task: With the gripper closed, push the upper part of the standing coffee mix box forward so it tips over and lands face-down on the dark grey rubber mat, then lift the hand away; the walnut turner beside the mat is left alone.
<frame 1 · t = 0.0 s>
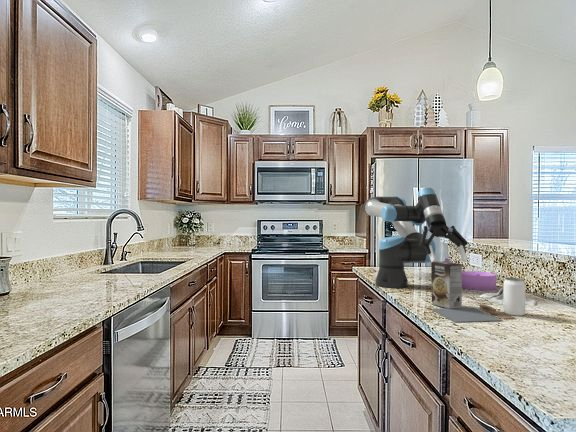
hand: (449, 260, 155), 15 cm above the worktop, tool tilted 35°, fingers open, 13 cm apart
mat: (464, 315, 129), on the worktop
coffee box: (446, 306, 141), on the worktop, touching mat
can: (514, 314, 131), on the worktop
container set: (466, 287, 179), on the worktop
cloth: (505, 301, 153), on the worktop
turner: (495, 313, 131), on the worktop
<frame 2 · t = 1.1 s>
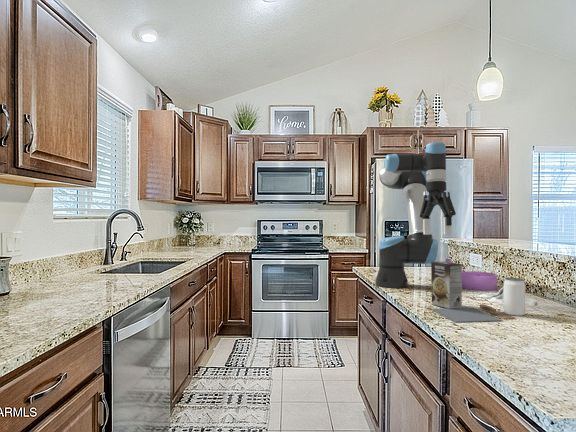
hand: (436, 234, 151), 26 cm above the worktop, tool pointing down, fingers open, 13 cm apart
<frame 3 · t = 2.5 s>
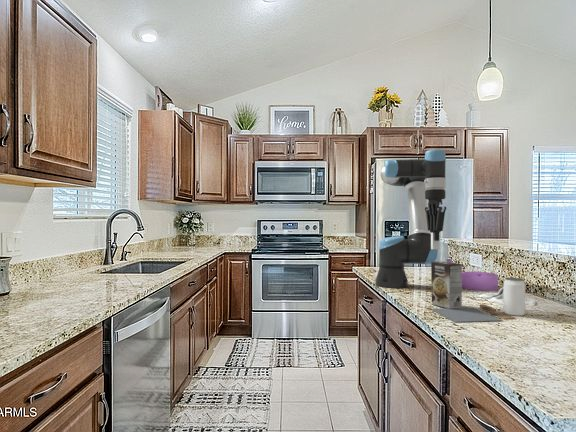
hand: (435, 249, 149), 21 cm above the worktop, tool pointing down, fingers closed
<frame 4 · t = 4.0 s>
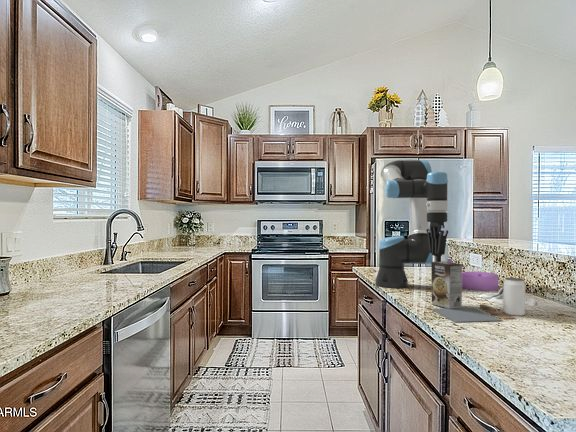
hand: (436, 272, 148), 12 cm above the worktop, tool pointing down, fingers closed
coffee box: (446, 306, 141), on the worktop, touching gripper, mat
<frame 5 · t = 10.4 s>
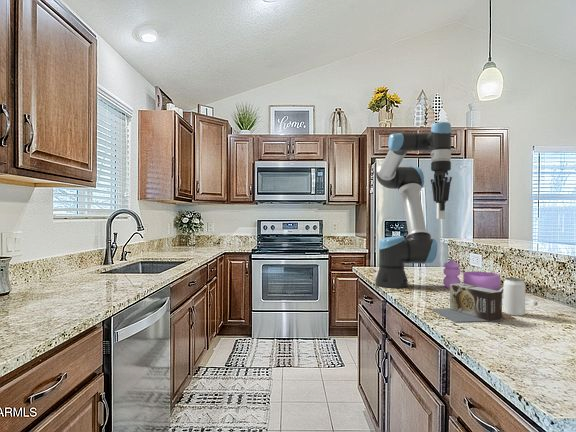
hand: (440, 218, 155), 32 cm above the worktop, tool pointing down, fingers closed
coffee box: (455, 296, 137), point 5 cm above the worktop, touching mat
at the end: coffee box tilted 89°; coffee box inside the target area (8.1 cm from its centre), point 4.7 cm above the worktop; turner moved 0.1 cm from its start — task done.
